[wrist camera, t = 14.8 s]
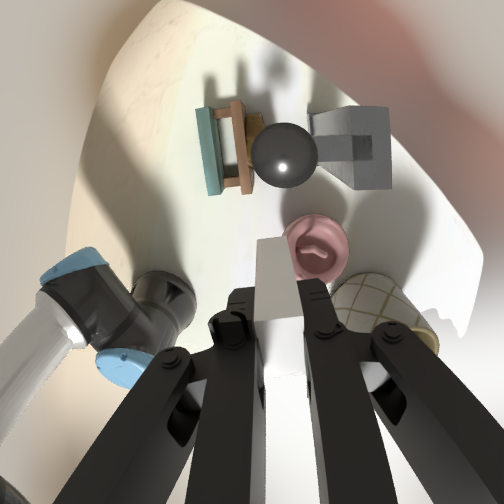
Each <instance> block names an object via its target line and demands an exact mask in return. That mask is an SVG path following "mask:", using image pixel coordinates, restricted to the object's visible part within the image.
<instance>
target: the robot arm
mask: <svg viewBox="0 0 504 504" xmlns="http://www.w3.org/2000/svg"><path fill="white" fill-rule="evenodd" d="M40 282H41V283H40V284H41V286H43V287H42V288H41V289H40V290H39V291H38V292H37V293H36V305H35V308H34V309H33V310H32V311H31V312H30V313H29V314H28V316H26V317H25V319H24V320H23V321H22V322H21V323H20V324H19V325H18V326H17V327H16V328H15V330H13V332H12V333H11V334H10V335H9V336H8V337H7V338H6V339H5V340H4V342H3V343H2V344H1V345H0V445H1V444H2V442H3V441H4V439H5V437H6V436H7V435H8V433H9V431H10V430H11V428H12V427H13V426H14V424H15V423H16V421H17V420H18V418H19V417H20V416H21V414H22V413H23V411H24V410H25V409H26V407H27V406H28V404H29V403H30V402H31V400H32V399H33V398H34V396H35V395H36V394H37V392H38V391H39V390H40V388H41V387H42V386H43V384H44V383H45V382H46V381H47V379H48V378H49V377H50V375H51V374H52V373H53V371H54V370H55V369H56V368H57V367H58V365H59V364H60V363H61V361H62V360H63V359H64V358H65V357H66V355H67V354H68V353H69V352H70V351H71V350H72V349H85V348H86V347H87V345H88V344H89V343H90V344H91V346H92V347H93V348H94V349H95V350H96V351H97V352H98V353H97V355H96V360H95V362H96V365H97V368H98V370H99V371H100V373H101V374H102V375H103V376H105V378H107V379H108V380H110V381H111V382H113V383H114V384H116V385H119V386H121V387H124V388H127V389H131V390H130V391H129V393H128V394H127V396H126V397H125V398H124V400H123V401H122V403H121V404H120V405H119V407H118V408H117V410H116V411H115V412H114V414H113V415H112V417H111V418H110V420H109V421H108V422H107V424H106V425H105V427H104V428H103V430H102V431H101V433H100V434H99V436H98V437H97V438H96V440H95V441H94V443H93V444H92V446H91V447H90V449H89V450H88V451H87V453H86V454H85V456H84V458H83V459H82V460H81V462H80V463H79V465H78V466H77V468H76V470H75V471H74V472H73V474H72V475H71V477H70V478H69V480H68V481H67V483H66V484H65V486H64V487H63V489H62V490H61V492H60V493H59V495H58V496H57V498H56V499H55V501H54V503H53V504H166V502H167V500H168V498H169V496H170V494H171V492H172V490H173V488H174V486H175V484H176V482H177V480H178V478H179V476H180V474H181V472H182V470H183V468H184V466H185V464H186V462H187V460H188V457H189V455H190V453H191V451H192V449H193V447H194V451H193V457H192V463H191V469H190V475H189V480H188V487H187V492H186V499H185V504H265V483H266V482H265V481H266V480H265V479H266V477H265V475H266V406H265V405H266V399H265V398H266V396H265V395H266V393H265V391H266V390H265V385H264V377H265V378H274V377H284V376H293V375H300V374H306V375H307V398H309V405H310V412H311V421H312V429H313V438H314V446H315V456H316V465H317V475H318V486H319V497H320V504H398V501H397V497H396V492H395V487H394V483H393V479H392V474H391V470H390V466H389V462H388V458H387V454H386V451H385V448H384V443H383V440H382V436H381V432H380V429H379V426H378V422H377V418H376V415H375V412H374V410H375V411H376V413H377V414H378V416H379V417H380V419H381V421H382V422H383V424H384V425H385V427H386V428H387V430H388V431H389V433H390V434H391V436H392V438H393V439H394V441H395V442H396V444H397V445H398V447H399V448H400V450H401V451H402V453H403V455H404V457H405V458H406V460H407V461H408V463H409V465H410V466H411V468H412V469H413V471H414V472H415V474H416V476H417V477H418V479H419V480H420V482H421V484H422V485H423V487H424V489H425V490H426V492H427V493H428V495H429V497H430V498H431V500H432V502H433V503H434V504H504V429H503V428H502V427H501V426H500V424H499V423H498V422H497V421H496V420H495V419H494V418H493V416H492V415H491V414H490V413H489V412H488V410H487V409H486V408H485V407H484V406H483V405H482V404H481V402H480V401H479V400H478V399H477V398H476V397H475V396H474V395H473V393H472V392H471V391H470V390H469V389H468V388H467V387H466V386H465V385H464V384H463V383H462V382H461V380H460V379H459V378H458V377H457V376H456V375H455V374H454V373H453V372H452V371H451V370H450V369H449V368H448V367H447V366H446V365H445V364H444V363H443V361H441V359H440V358H439V357H438V356H437V355H436V354H435V353H434V352H433V351H432V350H431V349H430V348H429V347H428V346H427V345H426V344H425V343H424V342H423V341H422V340H421V339H420V338H419V337H418V336H417V335H416V334H415V333H414V332H413V331H412V330H411V329H410V328H409V327H407V326H406V325H404V324H403V323H399V322H396V321H387V322H383V323H380V324H379V325H377V326H376V327H375V328H374V330H373V331H372V333H361V332H354V331H351V330H348V329H347V328H346V327H345V325H344V324H343V323H342V322H340V321H339V320H338V317H337V314H336V311H335V308H334V306H333V303H332V300H331V298H330V295H329V292H328V290H327V287H326V284H325V283H324V282H323V281H321V280H320V279H319V278H313V279H305V280H298V281H296V277H295V272H294V268H293V263H292V259H291V254H290V250H289V245H288V241H287V237H286V236H282V237H274V238H266V239H258V240H257V252H256V277H255V287H246V288H237V289H234V290H233V291H232V293H231V294H230V295H229V297H228V303H227V308H226V310H223V311H221V312H219V313H217V314H215V315H214V316H213V317H211V318H210V320H209V322H208V326H209V330H210V333H211V336H212V339H213V342H214V345H213V346H212V347H211V348H209V349H207V350H204V351H201V352H198V353H194V354H190V353H189V352H188V351H187V350H186V349H185V348H182V347H174V345H175V343H176V340H177V337H178V335H179V334H180V333H181V332H182V331H183V330H184V329H185V328H187V327H188V326H189V325H190V323H191V322H192V320H193V318H194V315H195V312H196V299H195V296H194V294H193V292H192V290H191V289H190V288H189V286H188V285H187V284H186V283H185V282H184V281H182V280H181V279H180V278H178V277H176V276H175V275H172V274H170V273H167V272H162V271H152V272H148V273H145V274H144V275H142V276H141V277H140V278H139V279H138V280H137V281H136V283H135V284H134V285H133V287H132V290H131V293H129V291H128V290H127V289H126V288H125V286H124V285H123V284H122V282H121V281H120V280H119V278H118V277H117V276H116V274H115V273H114V272H113V270H112V269H111V268H110V266H109V263H108V262H106V261H105V260H104V258H103V257H102V256H101V255H100V253H99V252H98V251H97V250H96V249H95V248H93V247H85V248H82V249H80V250H78V251H77V252H75V253H73V254H71V255H70V256H68V257H66V258H65V259H63V260H62V261H60V262H59V263H58V264H56V266H53V267H52V268H51V269H49V270H48V271H46V272H45V273H44V274H43V275H42V276H41V277H40ZM194 445H195V446H194ZM0 504H31V503H30V502H29V501H28V500H27V499H26V498H25V497H24V496H23V495H22V494H21V493H20V492H19V491H18V490H17V489H16V488H15V487H13V485H11V484H10V483H9V482H8V481H6V480H5V479H4V478H3V477H1V476H0Z"/></svg>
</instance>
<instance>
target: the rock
mask: <svg viewBox="0 0 504 504" xmlns="http://www.w3.org/2000/svg"><path fill="white" fill-rule="evenodd" d="M263 129H265V127H264V125H263V117H262V115H261V113H254V114H248V115H247V116H246V140H247V141H246V145H247V146H246V150H247V163H248V164H249V166H251V167H252V168H253V165H252V162H251V148H252V144H253V142H254V140H255V138H256V137H257V135H258V134H259V133H260V132H261V131H262V130H263Z"/></svg>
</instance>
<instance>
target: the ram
mask: <svg viewBox="0 0 504 504" xmlns="http://www.w3.org/2000/svg"><path fill="white" fill-rule="evenodd" d="M251 162H252V165H253V168H254V170H255V172H256V173H257V175H258V176H259V177H260V178H261V179H262V180H263V181H265V182H266V183H268V184H270V185H272V186H274V187H279V188H291V187H295V186H298V185H300V184H302V183H304V182H305V181H306V180H308V179H309V178H310V176H311V175H312V174H313V172H314V171H315V168H316V166H317V162H318V150H317V146H316V143H315V141H314V139H313V138H312V136H311V135H310V134H309V133H308V132H307V131H306V130H305V129H303V128H302V127H300V126H298V125H295V124H292V123H276V124H272V125H270V126H268V127H266V128H265V129H263V130H262V131H261V132H260V133H259V134H258V135H257V137H256V138H255V140H254V142H253V144H252V148H251Z"/></svg>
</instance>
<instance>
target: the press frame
mask: <svg viewBox="0 0 504 504" xmlns="http://www.w3.org/2000/svg"><path fill="white" fill-rule="evenodd" d="M307 121H308V131H309V134H310V135H311V136H312V138H313V139H314V141H315V143H316V146H317V150H318V162H317V166H321V167H322V168H324V169H325V170H326V171H328V172H329V173H331V174H332V175H334V176H335V177H336V178H338V179H339V180H341V181H342V182H343V183H345V184H346V185H348V186H349V187H350V188H352V189H353V190H375V189H392V160H391V135H390V121H389V108H388V107H376V106H345V107H341V108H338V109H334V110H331V111H327V112H324V113H309V114H307Z"/></svg>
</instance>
